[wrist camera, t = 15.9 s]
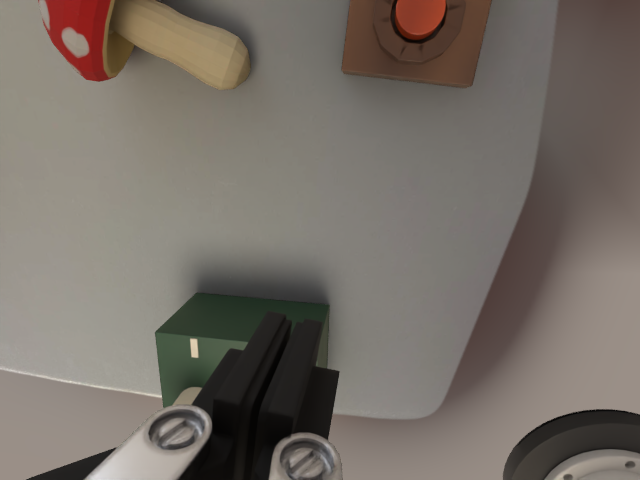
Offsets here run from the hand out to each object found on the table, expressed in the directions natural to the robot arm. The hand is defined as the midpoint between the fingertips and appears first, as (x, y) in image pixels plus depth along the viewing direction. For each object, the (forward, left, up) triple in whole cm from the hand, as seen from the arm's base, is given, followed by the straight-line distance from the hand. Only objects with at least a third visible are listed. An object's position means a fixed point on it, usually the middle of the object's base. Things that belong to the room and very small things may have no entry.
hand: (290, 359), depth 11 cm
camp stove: (+14, +10, -25) cm, 31 cm away
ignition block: (-10, -11, -25) cm, 29 cm away
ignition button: (-10, -11, -22) cm, 26 cm away
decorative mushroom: (+7, -19, -25) cm, 32 cm away
